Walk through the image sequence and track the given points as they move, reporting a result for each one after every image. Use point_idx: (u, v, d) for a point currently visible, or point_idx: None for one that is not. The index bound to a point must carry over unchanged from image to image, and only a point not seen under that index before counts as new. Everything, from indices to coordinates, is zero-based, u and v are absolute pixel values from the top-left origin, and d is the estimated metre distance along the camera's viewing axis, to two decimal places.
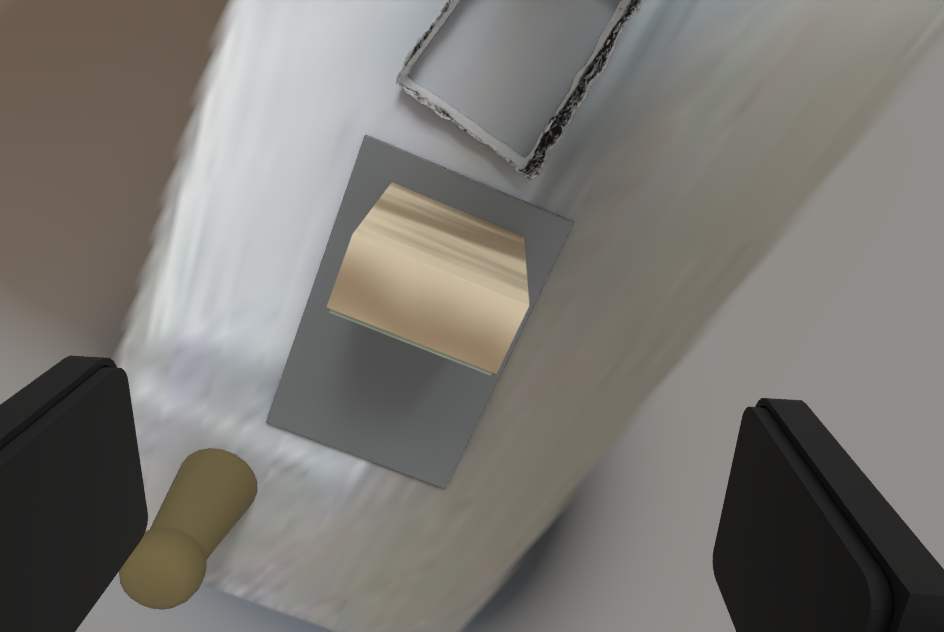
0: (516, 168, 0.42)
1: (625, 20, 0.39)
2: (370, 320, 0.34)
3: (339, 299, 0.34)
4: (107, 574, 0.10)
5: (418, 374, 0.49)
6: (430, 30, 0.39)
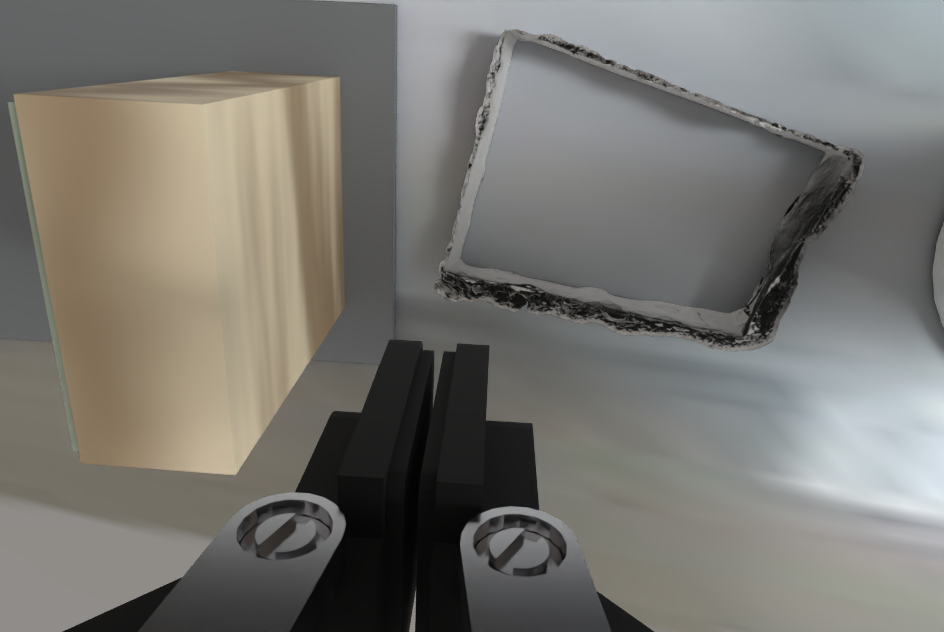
0: (443, 262, 0.27)
1: (693, 335, 0.27)
2: (41, 199, 0.15)
3: (47, 119, 0.15)
4: None
5: None
6: (603, 61, 0.24)
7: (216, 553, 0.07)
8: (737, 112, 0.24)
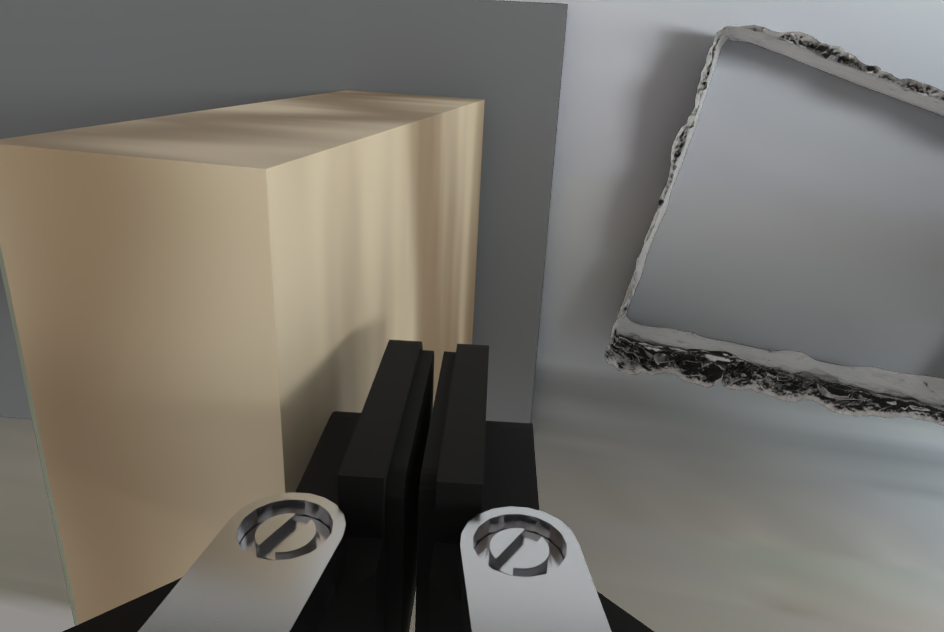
0: (616, 323, 0.21)
1: (934, 415, 0.21)
2: (25, 305, 0.10)
3: (28, 183, 0.09)
4: None
5: None
6: (862, 67, 0.18)
7: (216, 554, 0.07)
8: None
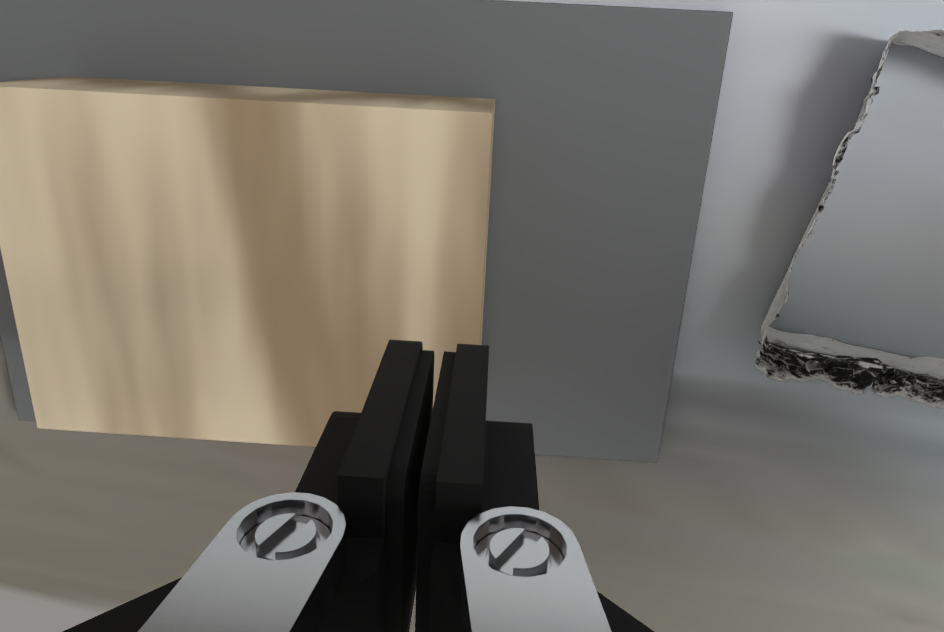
0: (766, 330, 0.21)
1: None
2: None
3: None
4: None
5: None
6: None
7: (216, 553, 0.07)
8: None
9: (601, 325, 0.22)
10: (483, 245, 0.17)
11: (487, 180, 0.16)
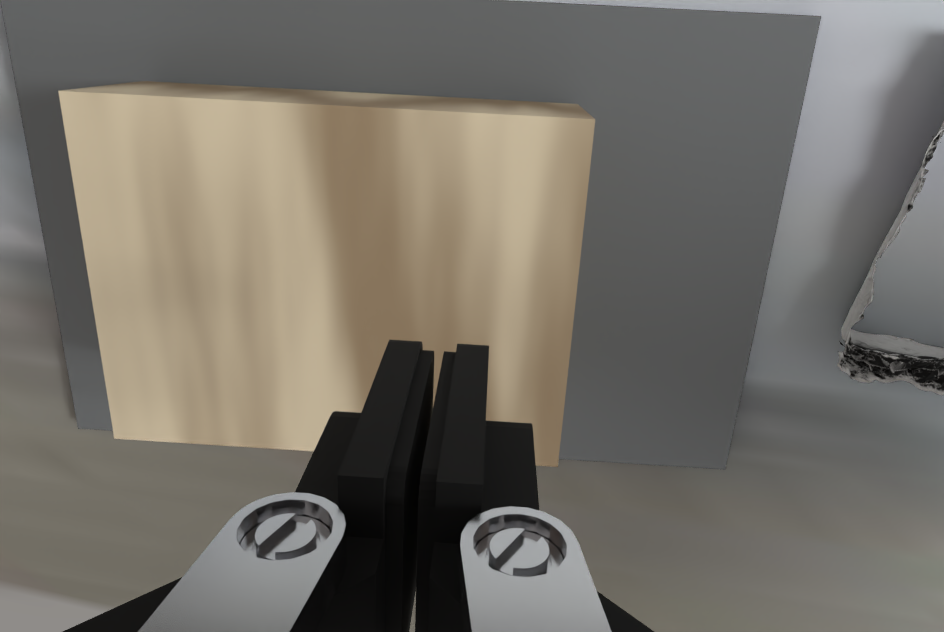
0: (850, 331, 0.21)
1: None
2: None
3: None
4: None
5: None
6: None
7: (216, 553, 0.07)
8: None
9: (674, 331, 0.22)
10: (579, 253, 0.17)
11: (586, 187, 0.16)
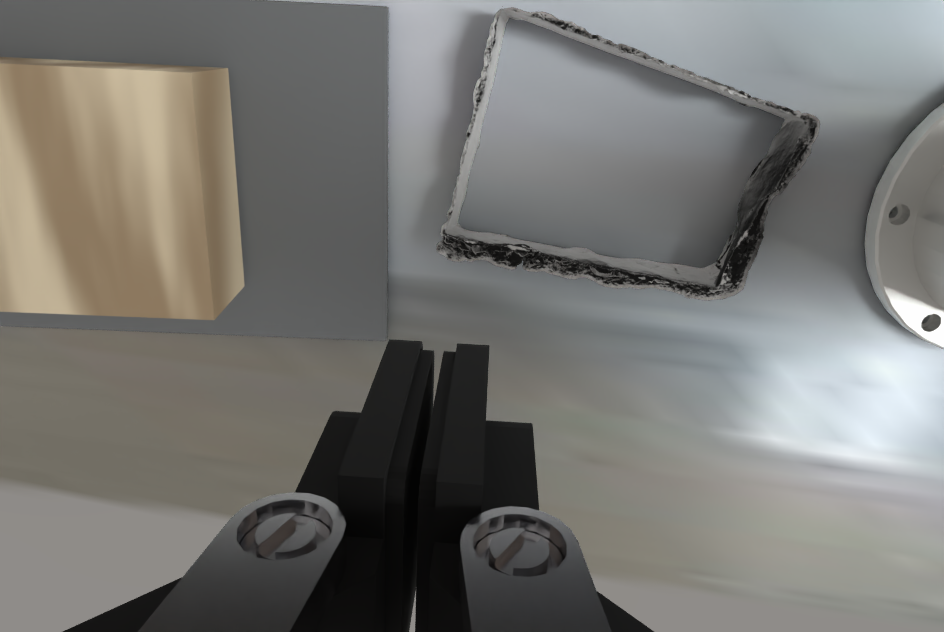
0: (444, 225, 0.29)
1: (672, 286, 0.30)
2: None
3: None
4: None
5: None
6: (590, 36, 0.26)
7: (216, 553, 0.07)
8: (708, 81, 0.27)
9: (329, 235, 0.30)
10: (198, 164, 0.25)
11: (195, 119, 0.24)
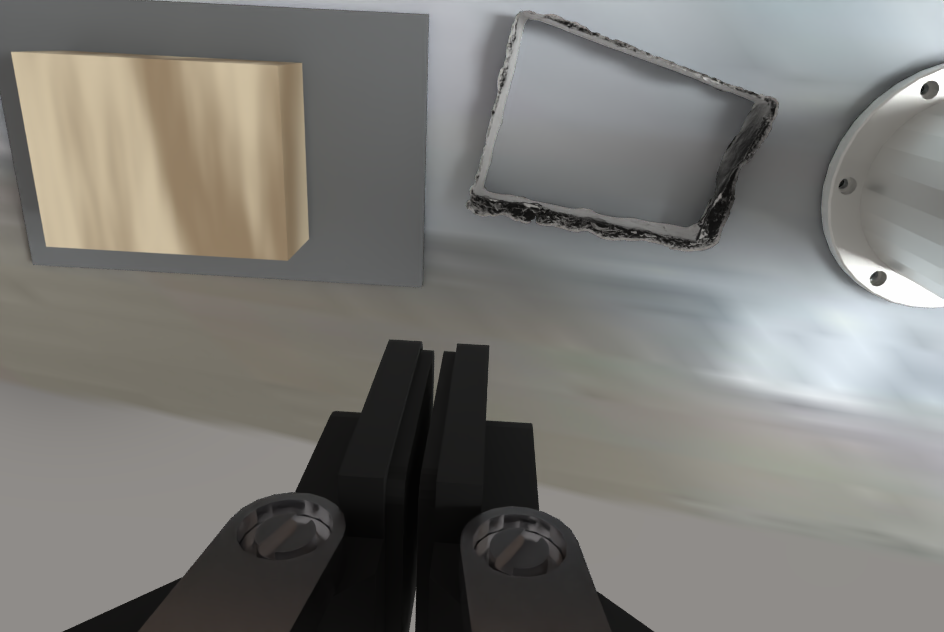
0: (472, 186, 0.36)
1: (659, 240, 0.36)
2: None
3: None
4: None
5: None
6: (591, 33, 0.33)
7: (216, 553, 0.07)
8: (687, 70, 0.33)
9: (378, 198, 0.37)
10: (280, 136, 0.32)
11: (279, 101, 0.32)
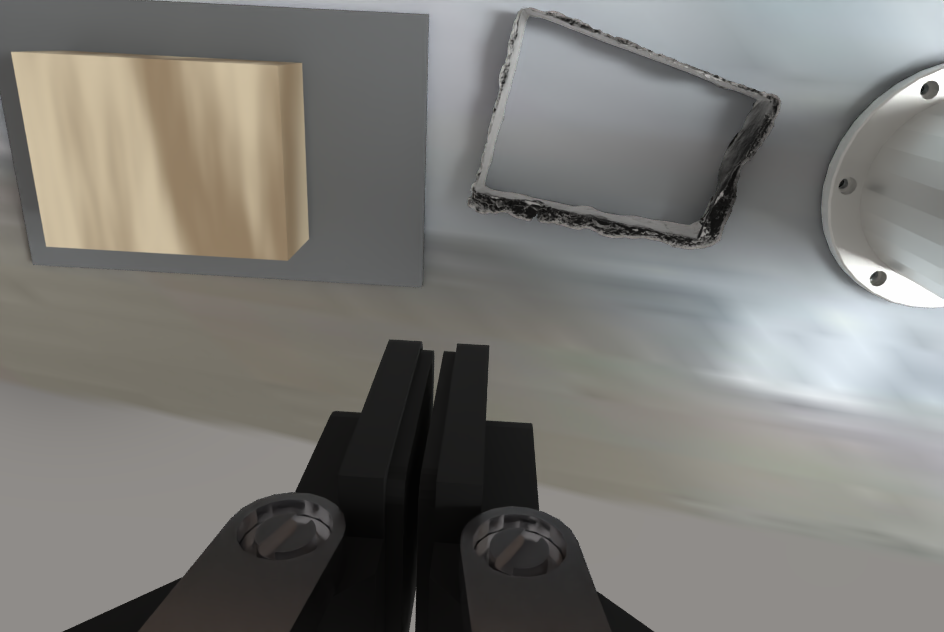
0: (474, 184, 0.36)
1: (661, 237, 0.36)
2: None
3: None
4: None
5: None
6: (593, 30, 0.33)
7: (216, 553, 0.07)
8: (689, 67, 0.33)
9: (378, 198, 0.37)
10: (280, 136, 0.32)
11: (279, 101, 0.32)
